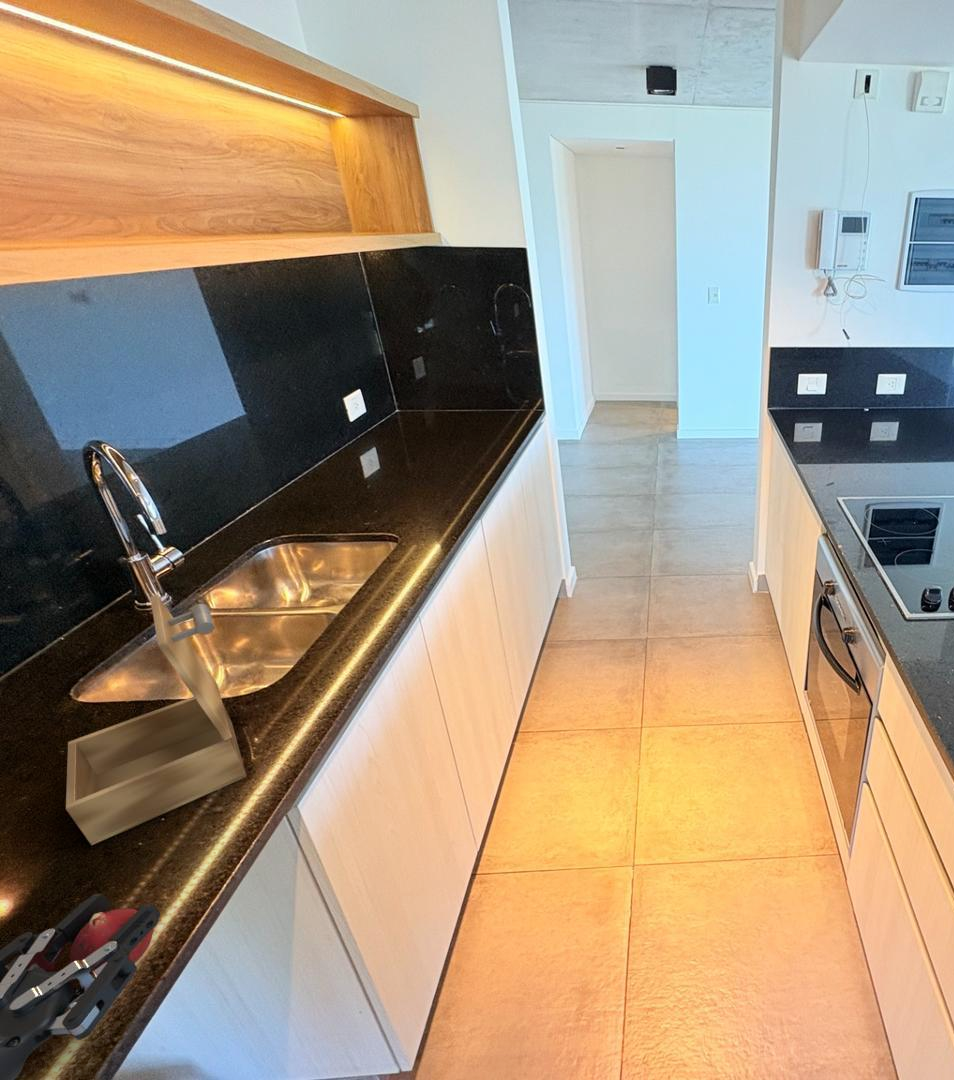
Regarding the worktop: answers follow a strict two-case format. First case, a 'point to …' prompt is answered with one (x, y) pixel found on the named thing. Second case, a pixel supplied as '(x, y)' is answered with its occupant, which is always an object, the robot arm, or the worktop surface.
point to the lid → (190, 658)
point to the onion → (105, 935)
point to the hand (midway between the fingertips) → (128, 904)
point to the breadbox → (147, 768)
